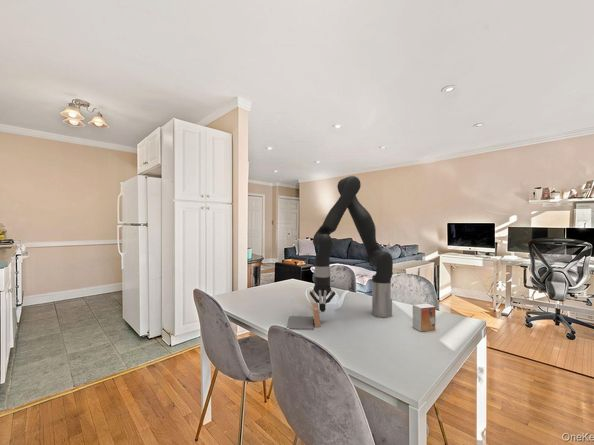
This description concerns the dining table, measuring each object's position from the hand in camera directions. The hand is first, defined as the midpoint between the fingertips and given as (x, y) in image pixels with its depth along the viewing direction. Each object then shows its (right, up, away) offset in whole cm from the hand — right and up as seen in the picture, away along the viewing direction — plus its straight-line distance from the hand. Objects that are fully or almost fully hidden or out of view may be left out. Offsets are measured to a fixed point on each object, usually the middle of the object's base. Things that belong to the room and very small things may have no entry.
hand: (322, 311), depth 128 cm
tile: (-2, -6, 0) cm, 6 cm away
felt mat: (-10, -6, +1) cm, 12 cm away
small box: (+45, -6, -7) cm, 46 cm away
